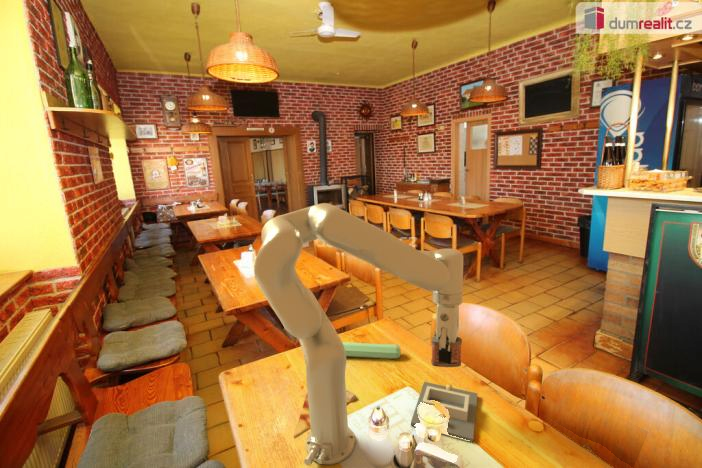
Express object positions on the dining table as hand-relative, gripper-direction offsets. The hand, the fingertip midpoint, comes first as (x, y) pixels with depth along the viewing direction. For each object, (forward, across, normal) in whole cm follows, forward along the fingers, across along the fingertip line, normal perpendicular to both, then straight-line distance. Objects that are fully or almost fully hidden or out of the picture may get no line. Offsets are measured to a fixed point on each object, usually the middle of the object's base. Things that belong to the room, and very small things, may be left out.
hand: (446, 356), depth 95 cm
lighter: (+2, 0, 0) cm, 2 cm away
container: (+18, +18, +31) cm, 40 cm away
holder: (+17, 0, 0) cm, 17 cm away
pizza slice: (+18, -10, +38) cm, 43 cm away
